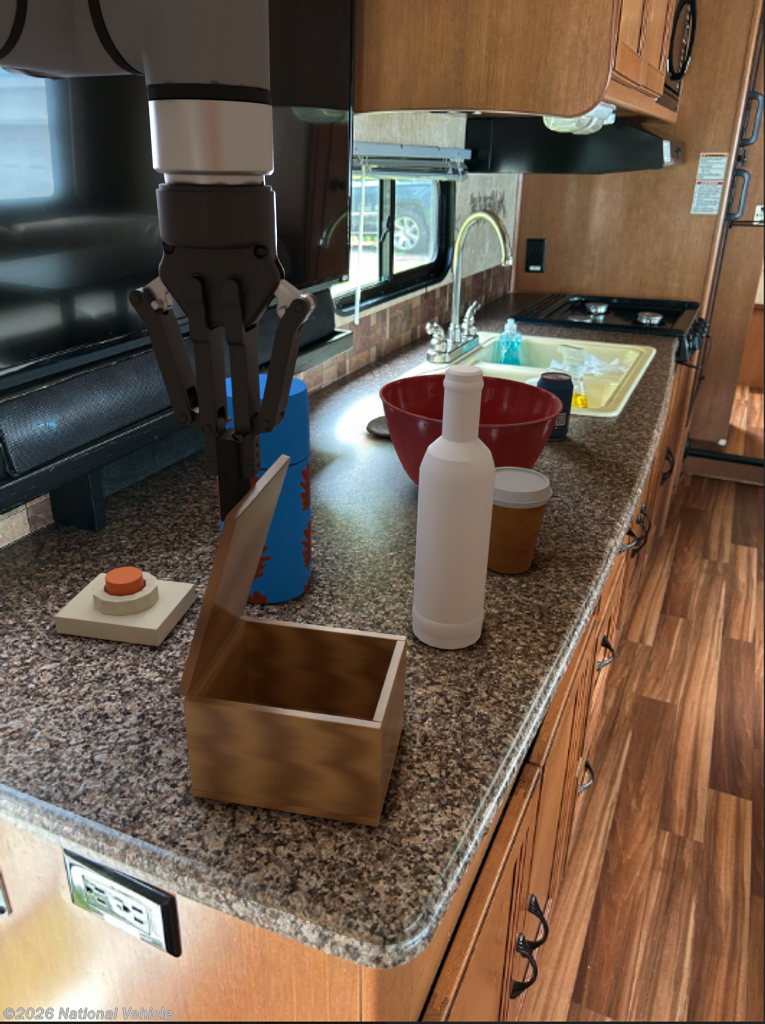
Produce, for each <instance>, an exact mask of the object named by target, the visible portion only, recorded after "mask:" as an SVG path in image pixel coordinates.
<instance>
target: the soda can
mask: <svg viewBox="0 0 765 1024" xmlns="http://www.w3.org/2000/svg"><path fill="white" fill-rule="evenodd" d="M536 386H537V387H539V388H542V389H544V390H546V391H549V392H551V393H552V394H554V395H555V396H557V397H558V398H559V399H560V400H561V402H562V404H563V409H562V411H561V412H560V413H559V414H558V417H557V419H556V422H555V425H554V427H553V429H552V432H551V434H550V436H549V439H548V441H550V442H557V441H561V440H563V439H565V437H566V436H567V434H568V433H569V428H570V419H571V414H572V413H571V411H572V404H573V398H574V397H573V396H574V389H575V385H574V383H573V380H572V375H570V374H568V373H565V372H557V371H546V372H543V373H541V374H540V377H539V379H538V380H537V382H536ZM548 441H547V442H548Z"/></svg>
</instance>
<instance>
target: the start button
mask: <svg viewBox="0 0 765 1024" xmlns="http://www.w3.org/2000/svg"><path fill="white" fill-rule="evenodd" d="M142 572H143V571H142V570H141V569H140V568H138V567H135V566H121V567H116V568H114V569H111V570H109V571H108V572H107V573H106V576H105V582H106V589H107V593H108V594H109V595H113V596H126V595H133V594H135V593H137V592H140V591H142V590H143V588H144V582H143V574H142Z"/></svg>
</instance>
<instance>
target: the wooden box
mask: <svg viewBox="0 0 765 1024" xmlns="http://www.w3.org/2000/svg"><path fill="white" fill-rule="evenodd" d="M407 649H408V636H406V635H398V634H390V633H383V632H374V631H367V630H358V629H349V628H341V627H335V626H327V625H318V624H311V623H303V622H294V621H286V620H278V619H271V618H262V617H253V616H248V615H247V616H246V615H241V617H240V618H239V620H238V621H237V623H236V624H235V626H234V627H233V629H232V630H231V632H230V633H229V635H228V636H227V638H226V639H225V641H224V642H223V644H222V645H221V647H220V648H219V650H218V651H217V653H216V654H215V656H214V657H213V659H212V660H211V662H210V663H209V665H208V666H207V668H206V669H205V671H204V672H203V674H202V675H201V677H200V678H199V680H198V681H197V683H196V684H195V685H194V687H193V688H192V690H191V691H190V693H189V694H188V696H187V697H185V696H184V698H183V700H182V705H183V715H184V724H185V734H186V745H187V753H188V761H189V762H188V763H189V773H190V780H191V793H192V797H195V798H203V799H206V800H213V801H218V802H224V803H225V802H226V803H231V804H237V805H242V806H249V807H256V808H260V809H267V810H273V811H280V812H285V813H291V814H297V815H304V816H309V817H317V818H321V819H328V820H332V821H333V820H334V821H339V822H345V823H352V824H358V825H364V826H368V827H370V826H371V827H375V828H378V827H379V824H380V820H381V816H382V811H383V808H384V804H385V799H386V796H387V792H388V788H389V785H390V781H391V776H392V772H393V768H394V763H395V760H396V756H397V751H398V748H399V744H400V740H401V735H402V732H403V727H404V721H405V718H404V717H405V698H406V697H405V695H406V672H407V671H406V670H407Z"/></svg>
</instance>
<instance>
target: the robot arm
mask: <svg viewBox="0 0 765 1024" xmlns="http://www.w3.org/2000/svg"><path fill="white" fill-rule="evenodd" d="M269 23H270V20H269V0H0V68H1V69H2V70H4V71H5V72H7V73H9V74H12V75H14V76H19V77H29V78H34V79H48V80H52V81H54V82H55V81H65V80H68V79H69V78H83V77H103V76H104V77H106V76H123V75H125V76H127V75H135V76H144V79H145V87H146V92H147V94H146V95H147V101H148V108H149V109H148V110H149V125H150V138H151V154H152V168H153V169H154V171H156V172H157V173H158V174H163V176H164V182H165V183H159V184H158V188H155V195H156V205H157V214H158V225H159V237H160V241H161V244H162V247H163V248H162V250H163V251H162V257H161V260H160V262H159V265H158V270H157V271H158V276H157V277H156V278H154V279H152V281H150V282H149V283H148V284H145V286H143V287H139V288H136V289H133V290H131V291H130V292H129V293H128V301H129V304H130V305H131V306H132V308H133V309H134V311H135V312H136V313H137V315H138V316H139V318H140V319H141V320H142V322H143V324H144V325H145V328H146V331H147V334H148V337H149V340H150V343H151V346H152V349H153V352H154V356H155V358H156V361H157V365H158V368H159V371H160V374H161V377H162V380H163V384H164V386H165V390H166V393H167V395H168V398H169V401H170V405H171V408H172V411H173V414H174V417H175V420H176V422H177V424H179V425H180V426H182V427H188V426H189V427H192V428H194V429H196V430H198V431H199V432H200V434H201V435H202V437H203V447H204V456H205V457H204V458H205V469H206V471H207V474H208V476H214V477H217V476H218V484H219V498H220V512H221V521H225V518H226V516H227V515H228V514H229V513H230V511H231V510H232V509H233V508H234V507H235V506H236V505H237V504H238V503H239V501H240V500H241V499H242V498H243V497H244V496H245V495H246V494H247V493H248V492H249V490H250V489H251V482H250V479H253V478H254V477H255V476H256V475H257V474H258V473H259V471H260V468H261V451H260V434H261V433H269V432H271V431H272V430H274V429H275V428H276V427H277V426H278V425H279V424H280V423H281V422H282V421H283V419H284V417H285V412H286V407H287V403H288V398H289V393H290V388H291V384H292V379H293V378H294V374H295V369H296V364H297V360H298V355H299V350H300V345H301V342H302V336H303V332H304V327H305V326H306V324H307V323H308V321H309V320H310V318H311V316H312V315H313V313H314V312H315V310H316V309H317V306H318V299H317V296H316V295H315V294H313V293H312V292H306V293H304V292H302V291H301V290H300V289H298V288H297V287H295V286H294V285H293V284H291V282H289V281H288V280H286V278H285V277H286V273H285V269H284V267H283V265H282V263H281V261H280V259H279V257H278V252H277V251H278V249H277V247H278V246H277V245H278V244H277V242H278V237H277V234H278V233H277V210H276V209H277V208H276V207H277V206H276V190H273V187H272V185H270V184H269V185H268V184H266V181H265V176H271V175H272V174H273V173H274V171H275V167H274V165H275V163H274V162H275V161H274V129H273V128H274V127H273V126H274V125H273V124H274V123H273V106H272V94H271V92H272V90H271V76H270V75H271V74H270V73H271V72H270V25H269ZM275 298H276V300H277V305H276V315H277V316H278V317H279V319H280V321H278V322H279V323H278V325H277V327H276V330H275V335H274V341H273V343H272V344H273V345H272V350H271V355H270V360H269V365H268V369H267V380H266V385H265V390H264V395H263V400H262V405H261V403H260V383H259V374H260V364H259V363H260V361H259V347H258V346H259V345H258V343H259V342H258V341H259V340H258V338H259V336H260V320H261V318H262V317H263V316H264V314H265V312H266V311H267V309H268V308H269V306H271V304H272V302H273V300H274V299H275ZM174 301H175V302H176V304H177V305H178V306H179V308H180V309H181V311H182V312H183V314H184V315H185V316H186V317H187V320H188V333H189V339H190V341H191V342H192V344H193V353H194V354H193V355H194V368H195V369H194V370H195V373H194V370H193V366H192V363H191V360H190V357H189V353H188V350H187V347H186V343H185V340H184V336H183V333H182V331H181V328H180V325H179V324H180V323H179V321H178V318H177V315H176V313H175V311H174V309H173V307H174V306H173V305H174ZM224 337H225V342H226V344H227V345H228V354H229V355H228V357H229V369H230V377H231V387H232V403H233V418H234V428H228V429H227V430H226V425H227V424H228V423H229V422H230V421H231V419H232V417H229V418H228V409H227V393H226V378H227V377H226V364H225V363H226V362H225V348H224V347H225V346H224V345H225V344H224Z"/></svg>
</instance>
